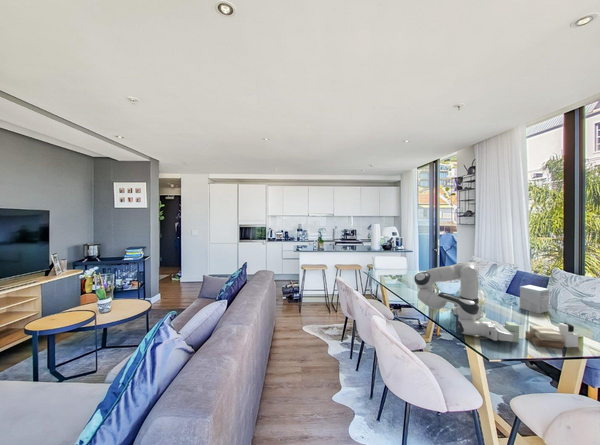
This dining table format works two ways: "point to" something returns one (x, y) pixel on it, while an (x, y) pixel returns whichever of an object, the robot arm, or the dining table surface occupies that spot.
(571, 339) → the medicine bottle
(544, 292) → the supplement box
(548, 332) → the tower top
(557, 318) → the dining table surface
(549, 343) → the tower base
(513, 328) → the sage block
